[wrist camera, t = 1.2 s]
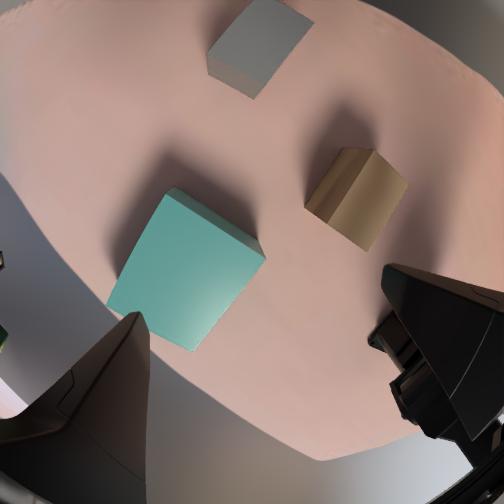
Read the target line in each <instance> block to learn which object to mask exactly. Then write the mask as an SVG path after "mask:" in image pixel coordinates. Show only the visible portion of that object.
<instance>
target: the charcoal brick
mask: <svg viewBox="0 0 504 504" xmlns="http://www.w3.org/2000/svg"><path fill="white" fill-rule="evenodd" d="M313 24H314V22H313V21H311V20H310V19H308V18H306V17H305V16H303V15H302V14H300V13H298V12H297V11H295V10H293V9H291V8H290V7H288V6H286V5H284V4H283V3H281V2H279V1H277V0H253V1H252V2H251V3H250V4H249V5H248V6H247V7H246V8H245V9H244V11H243V12H242V13H241V14H240V15H239V16H238V17H237V18H236V19H235V20H234V21H233V23H232V24H231V25H230V26H229V27H228V28H227V29H226V31H225V32H224V33H223V34H222V35H221V36H220V38H219V39H218V40H217V41H216V43H215V44H214V45H213V46H212V48H211V49H210V50H209V51H208V53H207V64H208V75H210V76H212V77H214V78H216V79H218V80H220V81H222V82H223V83H225V84H227V85H229V86H231V87H232V88H234V89H236V90H238V91H240V92H241V93H243V94H245V95H246V96H248V97H250V98H251V99H253V100H254V99H255V98H256V96H257V95H258V94H259V93H260V92H261V90H262V89H263V88H264V87H265V85H266V84H267V83H268V81H269V80H270V79H271V77H272V76H273V75H274V73H275V72H276V70H277V69H278V68H279V67H280V65H281V64H282V63H283V61H284V60H285V59H286V57H287V56H288V55H289V54H290V52H291V51H292V50H293V48H294V47H295V46H296V45H297V43H298V42H299V41H300V40H301V39H302V37H303V36H304V35H305V34H306V32H307V31H308V30H309V29H310V28H311V26H312V25H313Z"/></svg>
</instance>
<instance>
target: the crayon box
mask: <svg viewBox="0 0 504 504" xmlns="http://www.w3.org/2000/svg"><path fill="white" fill-rule="evenodd" d="M8 335H9V334H8V333H7V332H6V331H5V330H4V328H3V327H2V326H1V325H0V353H1V351H2V348H3V346H4V344H5V341H6V340H7V337H8Z"/></svg>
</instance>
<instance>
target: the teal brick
mask: <svg viewBox="0 0 504 504" xmlns="http://www.w3.org/2000/svg"><path fill="white" fill-rule="evenodd" d="M265 260H266V257H265V255H264V253H263V250H262V248H261V246H260V244H259V241H257V240H256V239H254V238H253V237H251V236H250V235H248V234H247V233H245V232H244V231H242V230H241V229H239V228H238V227H236V226H235V225H233V224H232V223H230V222H229V221H227V220H226V219H224V218H222V217H221V216H219V215H218V214H216V213H215V212H213V211H212V210H210V209H209V208H207V207H206V206H204V205H203V204H201V203H199V202H198V201H196V200H195V199H193V198H192V197H190V196H189V195H187V194H186V193H184V192H183V191H181V190H179V189H178V188H176V187H175V186H174V187H173V188H172V189H170V190H169V191H168V192H167V193H166V194H165V196H164V197H163V199H162V201H161V202H160V204H159V206H158V207H157V209H156V211H155V212H154V214H153V216H152V217H151V219H150V221H149V222H148V224H147V226H146V228H145V229H144V231H143V233H142V235H141V236H140V238H139V240H138V242H137V244H136V246H135V247H134V249H133V251H132V253H131V255H130V257H129V259H128V261H127V263H126V264H125V266H124V268H123V270H122V272H121V274H120V276H119V278H118V280H117V282H116V284H115V286H114V289H113V291H112V293H111V295H110V297H109V299H108V301H107V303H106V306H107V307H109V308H110V309H112V310H114V311H115V312H117V313H119V314H121V315H122V316H124V317H125V316H126V315H127V314H128V313H130V312H136V311H140V312H141V313H142V314H143V317H144V319H145V322H146V324H147V327H148V330H149V331H151V332H153V333H155V334H157V335H158V336H160V337H162V338H164V339H166V340H168V341H170V342H172V343H174V344H176V345H178V346H180V347H182V348H184V349H187V350H189V351H191V352H193V351H194V350H195V349H196V347H197V346H198V345H199V344H200V342H201V341H202V340H203V339H204V337H205V336H206V335H207V334H208V332H209V331H210V330H211V329H212V327H213V326H214V325H215V323H216V322H217V321H218V320H219V318H220V317H221V316H222V315H223V313H224V312H225V311H226V310H227V308H228V307H229V306H230V305H231V303H232V302H233V301H234V299H235V298H236V297H237V296H238V294H239V293H240V292H241V291H242V289H243V288H244V287H245V285H246V284H247V283H248V282H249V280H250V279H251V278H252V276H253V275H254V274H255V273H256V271H257V270H258V269H259V267H260V266H261V265H262V264H263V262H264V261H265Z"/></svg>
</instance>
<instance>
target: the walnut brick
mask: <svg viewBox="0 0 504 504" xmlns="http://www.w3.org/2000/svg"><path fill="white" fill-rule="evenodd" d="M409 185H410V184H409V183H408V182H407V181H406V180H405V179H404V178H403V177H402V176H401V175H400V174H399V173H398V172H397V171H396V170H395V169H394V168H393V167H392V166H391V165H390V164H389V163H388V162H387V161H386V160H385V159H384V158H383V157H382V156H380V155H379V154H378V153H377V152H376V151H375V150H372V149H357V148H342V150H341V151H340V153H339V154H338V156H337V158H336V159H335V161H334V162H333V164H332V165H331V167H330V168H329V170H328V172H327V173H326V175H325V176H324V178H323V179H322V181H321V182H320V184H319V185H318V187H317V188H316V190H315V191H314V193H313V195H312V196H311V198H310V199H309V201H308V202H307V204H306V205H305V207H304V208H306V209H307V210H308V211H310V212H311V213H313V214H314V215H315V216H317V217H318V218H319V219H321V220H322V221H324V222H325V223H326V224H328V225H329V226H331V227H332V228H334V229H335V230H336V231H338V232H339V233H341V234H342V235H343V236H345V237H346V238H348V239H349V240H350V241H352V242H353V243H355V244H356V245H357V246H359V247H360V248H361V249H363V250H364V251H366V252H367V251H368V250H369V248H370V247H371V245H372V244H373V242H374V241H375V239H376V238H377V236H378V235H379V233H380V232H381V230H382V229H383V227H384V226H385V224H386V223H387V221H388V219H389V218H390V216H391V215H392V213H393V212H394V210H395V208H396V207H397V205H398V203H399V202H400V200H401V198H402V197H403V195H404V193H405V192H406V190H407V188H408V187H409Z"/></svg>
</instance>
